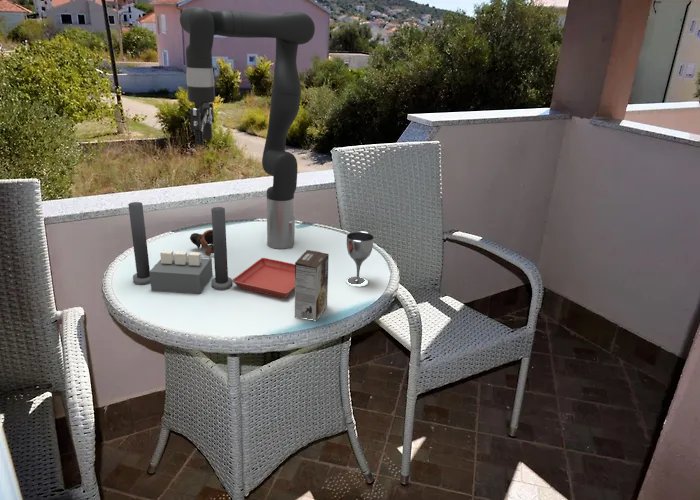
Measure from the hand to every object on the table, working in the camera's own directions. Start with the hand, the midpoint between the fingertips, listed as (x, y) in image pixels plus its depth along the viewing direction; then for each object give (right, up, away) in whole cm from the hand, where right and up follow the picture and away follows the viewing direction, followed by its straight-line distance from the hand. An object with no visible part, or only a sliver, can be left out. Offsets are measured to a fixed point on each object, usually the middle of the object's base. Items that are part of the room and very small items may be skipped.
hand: (204, 141), depth 153 cm
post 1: (-17, -41, -2) cm, 45 cm away
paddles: (-5, -36, -4) cm, 36 cm away
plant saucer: (+20, -42, +2) cm, 47 cm away
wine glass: (+46, -42, +5) cm, 62 cm away
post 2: (+6, -43, -2) cm, 43 cm away
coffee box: (+33, -49, -14) cm, 61 cm away
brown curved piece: (-4, -33, +21) cm, 39 cm away
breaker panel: (-6, -42, -2) cm, 42 cm away
